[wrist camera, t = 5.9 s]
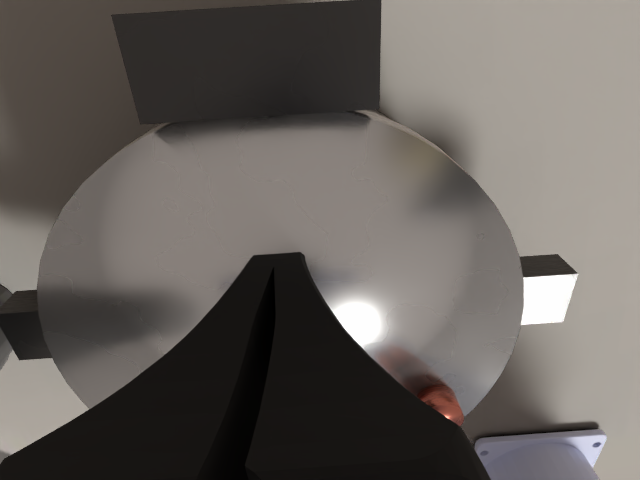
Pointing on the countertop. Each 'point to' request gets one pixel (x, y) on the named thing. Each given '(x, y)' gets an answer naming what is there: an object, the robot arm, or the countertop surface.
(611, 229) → the countertop surface
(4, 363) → the beverage cup
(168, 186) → the cooker lid
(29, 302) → the cooker pot
